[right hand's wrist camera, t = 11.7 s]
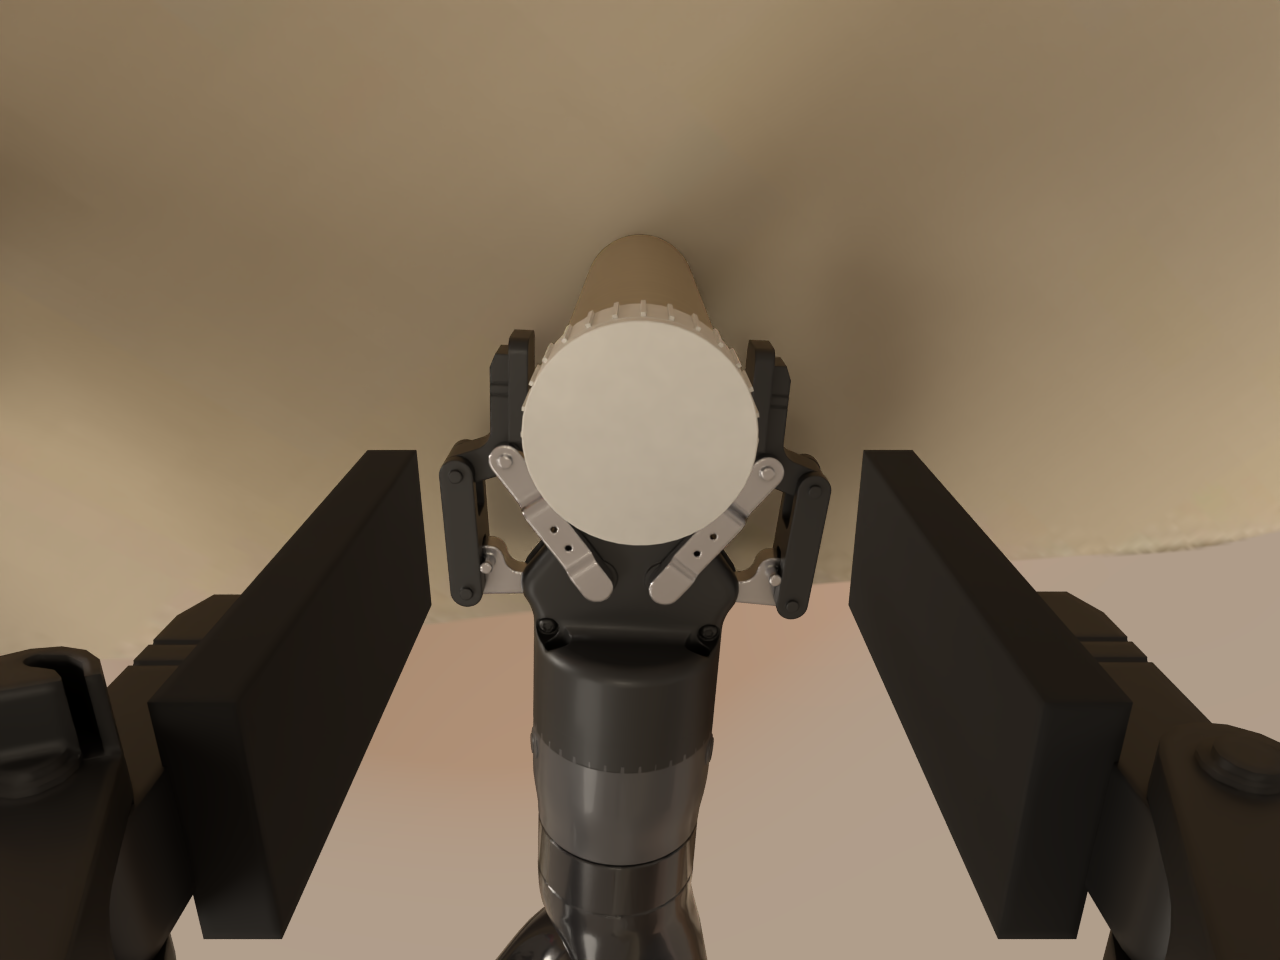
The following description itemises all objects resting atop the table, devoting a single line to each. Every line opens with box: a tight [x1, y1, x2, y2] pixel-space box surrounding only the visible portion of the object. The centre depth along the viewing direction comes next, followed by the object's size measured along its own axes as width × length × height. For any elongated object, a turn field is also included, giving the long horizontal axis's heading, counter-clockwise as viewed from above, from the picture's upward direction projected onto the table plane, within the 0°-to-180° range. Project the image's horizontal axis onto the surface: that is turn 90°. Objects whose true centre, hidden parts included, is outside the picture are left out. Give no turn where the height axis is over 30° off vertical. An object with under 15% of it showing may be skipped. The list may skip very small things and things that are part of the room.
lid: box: [521, 300, 759, 545], centre depth 19 cm, size 5×5×2 cm
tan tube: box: [569, 235, 713, 330], centre depth 28 cm, size 4×4×19 cm
